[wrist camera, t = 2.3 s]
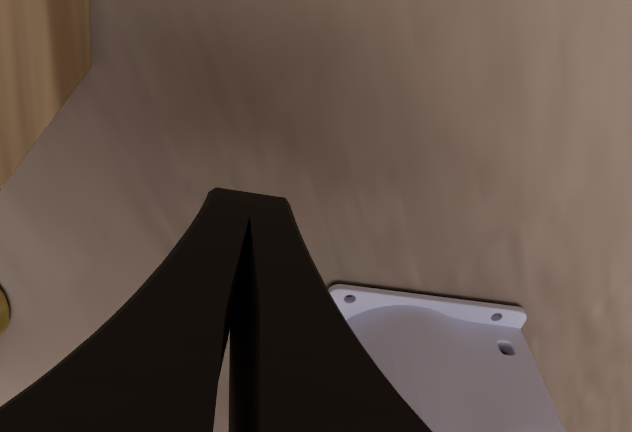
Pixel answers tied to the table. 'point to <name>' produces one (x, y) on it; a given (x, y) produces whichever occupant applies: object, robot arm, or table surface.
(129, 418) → the robot arm
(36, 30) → the block
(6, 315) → the vase
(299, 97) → the table surface
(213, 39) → the table surface
